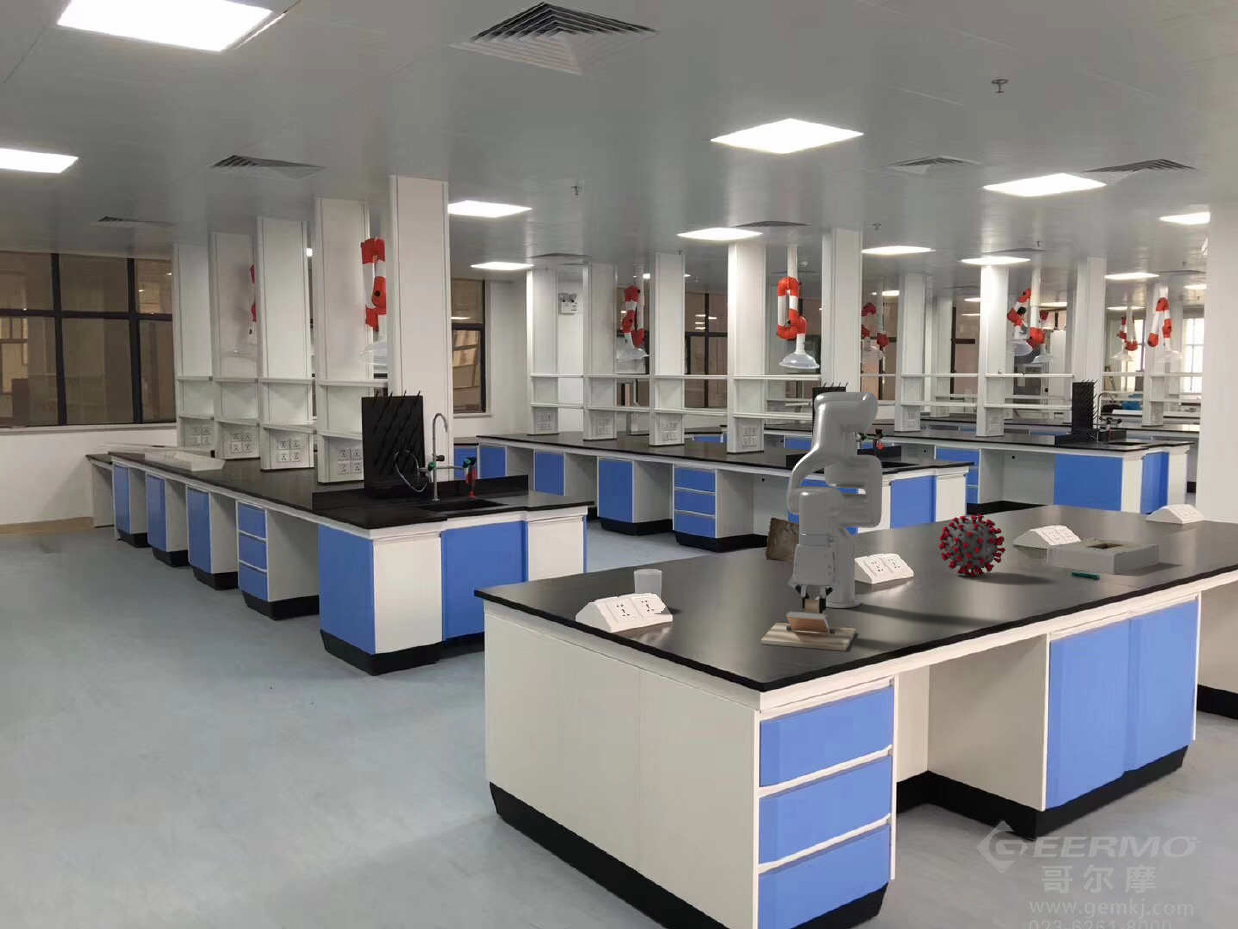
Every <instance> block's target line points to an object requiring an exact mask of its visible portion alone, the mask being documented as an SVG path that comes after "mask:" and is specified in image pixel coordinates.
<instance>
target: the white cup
mask: <svg viewBox="0 0 1238 929" xmlns="http://www.w3.org/2000/svg"><path fill="white" fill-rule="evenodd" d="M633 576H634V591H635V594H641V593H651V594H656V595H657V596H658V597H659V598H660V600H661V598H662V587H663V586H662V584H663V583H662V582H663V580H662V579H663V571H662V570H660V569H653V568H644V569H643V568H642V569H637V570H634V572H633Z"/></svg>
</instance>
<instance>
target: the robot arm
mask: <svg viewBox="0 0 1238 929" xmlns="http://www.w3.org/2000/svg"><path fill="white" fill-rule="evenodd" d="M813 406H814V412H815V414H814V422H813V430H812V437H811V443H810V450H809V452H808V453H806V454H805V455H804V456H803V457H801V459H800V460H798V462H797V463H796V465H794V467H793V468H792V470H791V473H790V475H789V479H788V485H787V491H786V508H787V510H788V512H789V513H791V514H792V515H794V516H798V517H799V518H798V522H799V523H798V524H799V544H797V546H796V551H795V558H794V562H793V572H792V575H791V577H790V578H789V580H788V582H787V586H789V587H790V588H792V589H794V590H796V592H797V593H798V594H799V595H800V596H801V597H802V599H801V602H802V603H801V604H802V605H801V608H802V610H804V611H803V612H804V613H805V599H810V595H809V593H808V591H809V586H814V587H815V586H818V587H819V588H820V589H819V590H820V592H819V593H820V595H819V596H816V597H814V600H819V613H820V614H822V613H823V612H824V613H825V611H826V610H827V608H834V609H835V608H836V609H837V608H838V609H846V608H847V609H848V608H856V607H859V606H860V605H861V600H860V599H859V598H858V597H856V596H855V594H856V591H855V590H856V589H855V586H856V585H855V584H856V582H855V577H856V573H855V572H856V569H855V568H856V542H855V539H854V537H853V535H851V533H850V532H849V530H848V529H847V528H860V529H861V528H862V529H863V528H864V529H865V528H866V529H872V528H877V526H879V524H880V523H881V521H882V520H881V519H882V513H883V512H882V511H883V508H882V507H883V466H882V462H881V461H880V458H879V457H877V456H875V455H871V454H857V453H856V450H857V449H856V448H857V445H856V443H857V438H856V435H855V433H866V432H868V431H869V430H870V428H871V427H872V425H873V423H874V422H875V420H876V418H877V416H878V411H879V403H878V398H877V396H876V395H875V394H874V393H872V392H871V391H831V392H830V391H829V392H823V393H820V394H817V396H816V397H815V398H814V402H813ZM822 469H824V470H823V471H824V473H823V475H824V481H825V483H826V485H827V486H826V487H825V486H804V485H802V483H803V482H804V480H805V479H806V478H807V477H808V476H810V475H811V474H813V473H815V472H816V471H819V470H822ZM801 485H802V486H801ZM828 486H829V487H828ZM839 489H856V490H857V489H858V490H859V489H860V490H862V491H864V492H865V493H851V492H841V490H839Z"/></svg>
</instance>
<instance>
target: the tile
mask: <svg viewBox="0 0 1238 929" xmlns="http://www.w3.org/2000/svg"><path fill="white" fill-rule="evenodd" d="M785 617H786V619H787V621H788V624H790V626H791V628H792V630H794V631H807V632H820V633H829V627H830V626H829V624H828V620H827V619H826V618H827V617H825V615H811V614H797V613H789V612H786V616H785Z"/></svg>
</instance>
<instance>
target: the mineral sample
mask: <svg viewBox="0 0 1238 929" xmlns="http://www.w3.org/2000/svg"><path fill="white" fill-rule="evenodd" d="M769 523H770V524H769V526H768V527H769V528H768V529H769V531H768V532H767V539H766V542H767V545H766V550H765V558H766V560H770V559H771V560H779V561H784V562H791V563H794V558H795V551H796V546H797V544H799V523H798V522H793V521H791V520H787V519H785V518H784V519H783V518H777V517H770V521H769Z"/></svg>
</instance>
